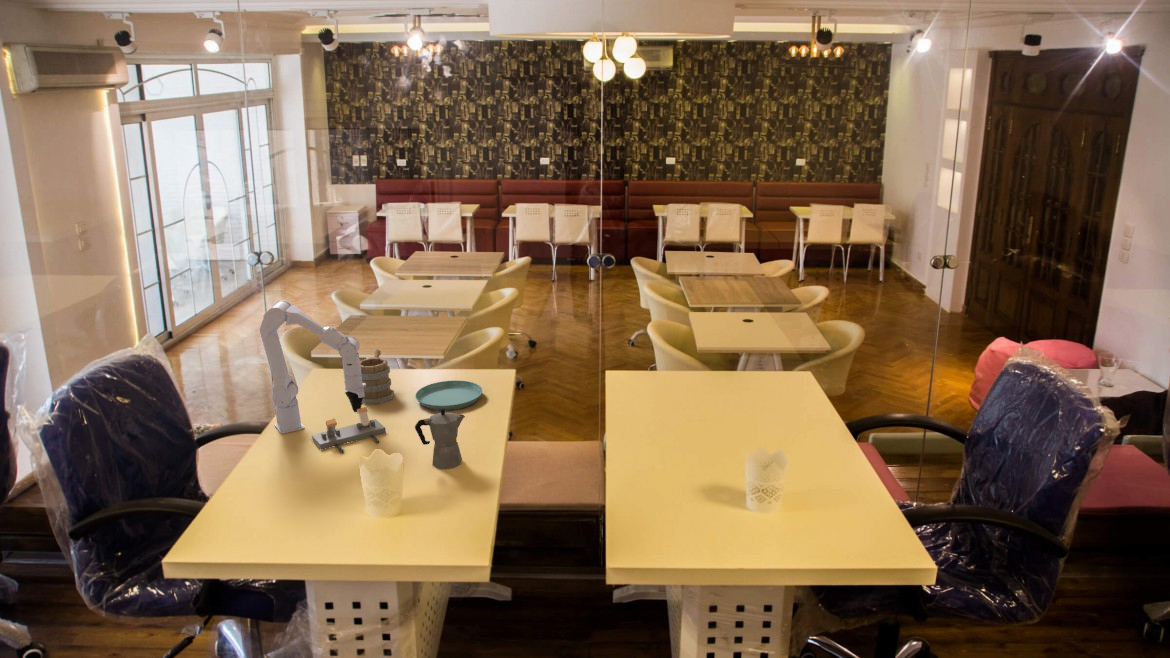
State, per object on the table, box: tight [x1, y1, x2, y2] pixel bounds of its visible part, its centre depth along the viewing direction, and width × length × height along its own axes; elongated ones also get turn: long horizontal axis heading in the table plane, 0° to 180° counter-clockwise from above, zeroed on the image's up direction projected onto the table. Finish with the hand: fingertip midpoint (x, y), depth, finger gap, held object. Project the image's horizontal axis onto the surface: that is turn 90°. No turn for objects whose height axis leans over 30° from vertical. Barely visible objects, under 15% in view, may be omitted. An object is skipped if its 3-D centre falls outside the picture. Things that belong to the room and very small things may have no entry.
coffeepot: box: [414, 409, 466, 470], centre depth 274 cm, size 15×9×18 cm, turn 110°
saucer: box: [414, 380, 483, 411], centre depth 327 cm, size 24×24×3 cm
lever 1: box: [325, 418, 338, 437], centre depth 293 cm, size 2×3×6 cm, turn 125°
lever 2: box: [356, 406, 370, 428], centre depth 301 cm, size 2×3×6 cm, turn 121°
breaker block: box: [311, 419, 387, 454], centre depth 295 cm, size 16×22×4 cm
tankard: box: [360, 349, 395, 405], centre depth 333 cm, size 20×13×15 cm, turn 179°
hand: (357, 411), depth 306 cm, fingers closed
